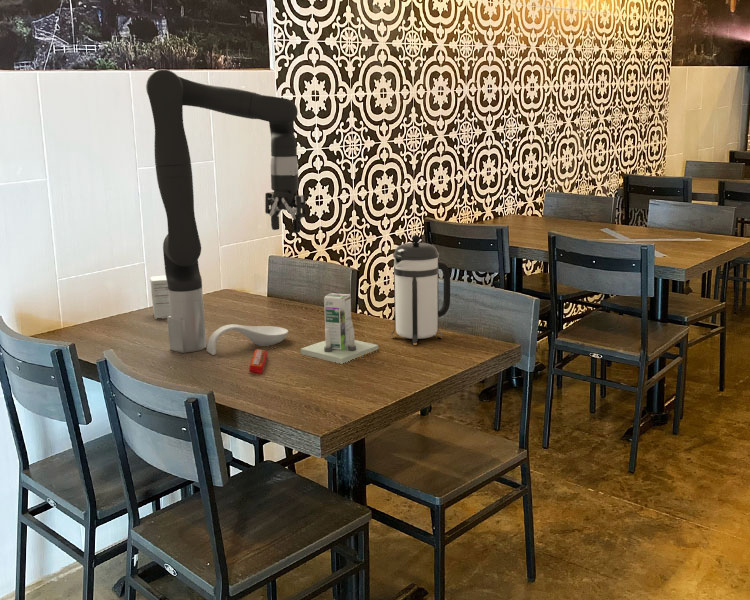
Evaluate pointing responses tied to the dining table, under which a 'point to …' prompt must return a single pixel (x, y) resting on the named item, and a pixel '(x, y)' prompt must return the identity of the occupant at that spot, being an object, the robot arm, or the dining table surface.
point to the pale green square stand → (339, 356)
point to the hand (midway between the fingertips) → (286, 231)
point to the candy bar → (258, 361)
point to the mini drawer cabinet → (160, 296)
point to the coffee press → (418, 290)
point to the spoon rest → (250, 335)
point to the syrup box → (338, 319)
